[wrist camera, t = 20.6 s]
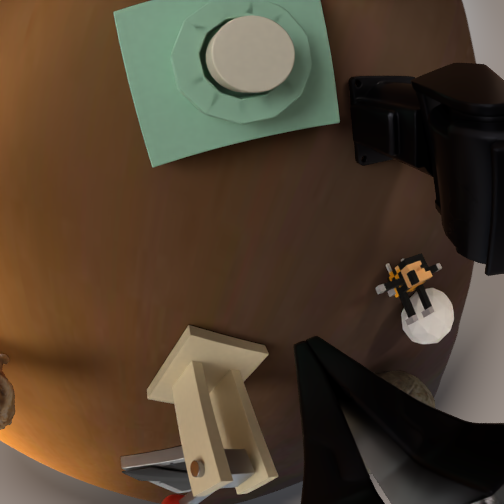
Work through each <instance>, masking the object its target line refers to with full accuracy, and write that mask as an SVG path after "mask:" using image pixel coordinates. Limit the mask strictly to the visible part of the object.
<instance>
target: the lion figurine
mask: <svg viewBox="0 0 504 504" xmlns="http://www.w3.org/2000/svg"><path fill="white" fill-rule="evenodd" d="M8 363H9V358H8V356H7V355H5V354H0V430H1V429H4V428H5V426H6V425H10V424H11V423H12V418H13V416H14V414H15V405H14V403H15V401H14V399H15V394H14V389H13V386H12V384H11V383H10V382H9V381H8V379H7V378H6V376H5V374H4V373H3V371H2V366H3V364H8Z"/></svg>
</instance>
